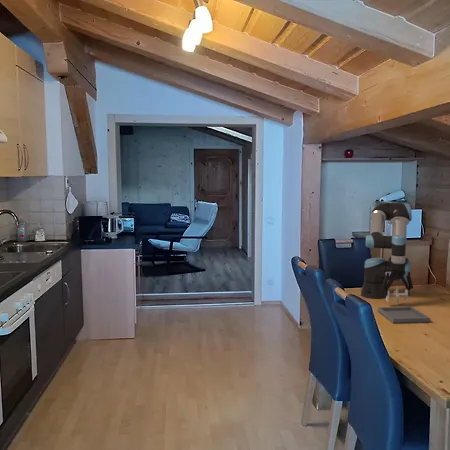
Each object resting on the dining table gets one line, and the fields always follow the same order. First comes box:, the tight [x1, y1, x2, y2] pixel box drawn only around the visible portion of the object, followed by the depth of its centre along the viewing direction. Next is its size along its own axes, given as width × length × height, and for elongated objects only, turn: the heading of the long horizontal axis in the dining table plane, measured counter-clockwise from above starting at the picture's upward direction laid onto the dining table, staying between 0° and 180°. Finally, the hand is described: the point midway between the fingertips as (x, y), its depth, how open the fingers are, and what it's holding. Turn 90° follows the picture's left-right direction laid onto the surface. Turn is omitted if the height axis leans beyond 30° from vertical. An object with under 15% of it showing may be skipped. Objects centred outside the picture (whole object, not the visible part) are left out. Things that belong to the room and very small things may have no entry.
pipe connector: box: [389, 285, 407, 305], centre depth 262 cm, size 10×10×10 cm
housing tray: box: [377, 306, 431, 325], centre depth 243 cm, size 20×19×2 cm
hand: (396, 300), depth 262 cm, fingers closed on pipe connector, 10 cm apart
